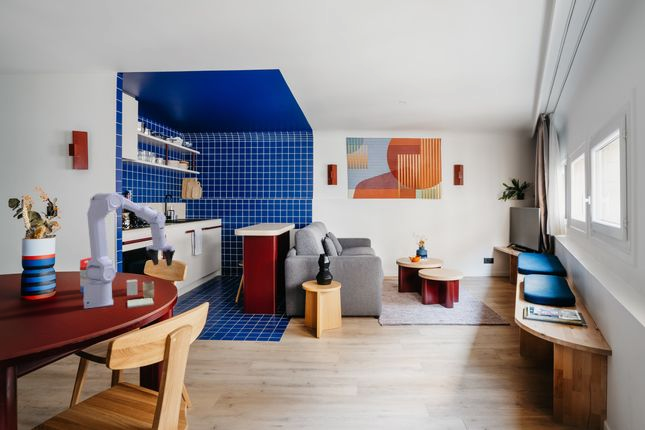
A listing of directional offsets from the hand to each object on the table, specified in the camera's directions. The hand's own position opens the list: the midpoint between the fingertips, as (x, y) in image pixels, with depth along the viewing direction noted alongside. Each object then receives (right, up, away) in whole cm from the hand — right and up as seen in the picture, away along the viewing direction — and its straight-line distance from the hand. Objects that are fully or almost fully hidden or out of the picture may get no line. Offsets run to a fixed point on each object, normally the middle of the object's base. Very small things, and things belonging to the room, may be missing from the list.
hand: (162, 265), depth 170 cm
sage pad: (+3, -12, -26) cm, 29 cm away
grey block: (-8, -11, -12) cm, 18 cm away
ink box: (-30, -11, -6) cm, 32 cm away
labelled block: (+1, -11, -16) cm, 20 cm away
